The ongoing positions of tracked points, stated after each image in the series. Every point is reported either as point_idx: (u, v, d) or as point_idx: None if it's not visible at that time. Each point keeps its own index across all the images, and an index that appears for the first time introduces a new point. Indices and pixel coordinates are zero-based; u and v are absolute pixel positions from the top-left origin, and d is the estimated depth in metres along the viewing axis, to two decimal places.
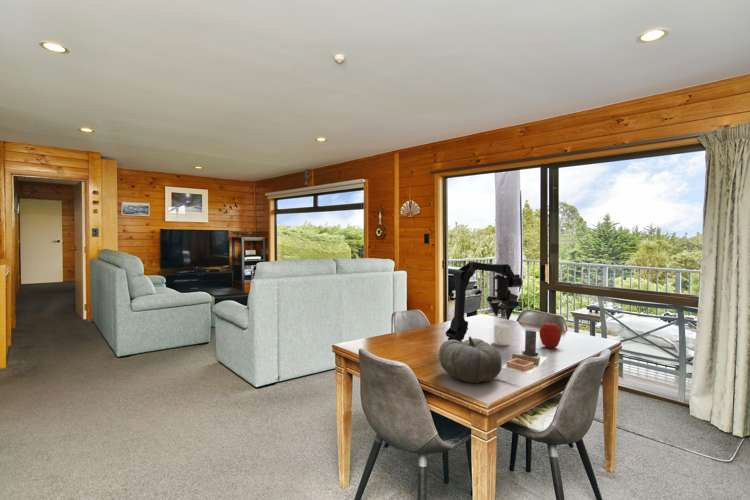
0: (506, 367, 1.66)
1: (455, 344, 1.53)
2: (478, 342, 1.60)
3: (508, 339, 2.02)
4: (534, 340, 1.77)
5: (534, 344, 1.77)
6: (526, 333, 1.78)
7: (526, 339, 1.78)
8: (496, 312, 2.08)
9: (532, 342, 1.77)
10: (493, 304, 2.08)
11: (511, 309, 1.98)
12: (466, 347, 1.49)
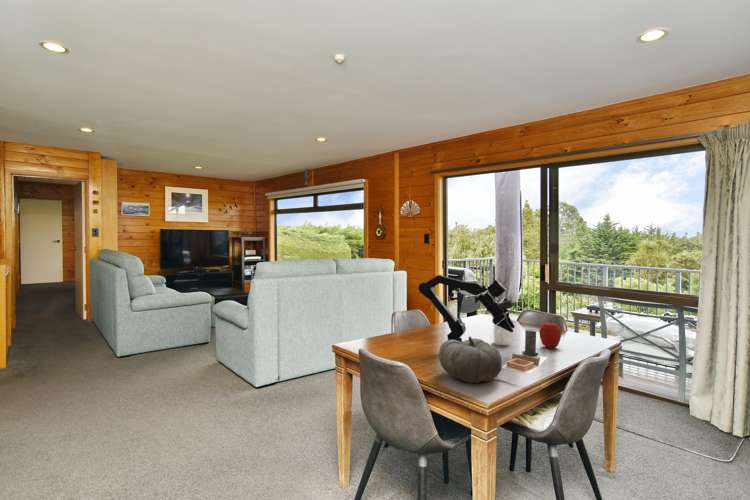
0: (506, 367, 1.66)
1: (455, 344, 1.53)
2: (478, 342, 1.60)
3: (508, 339, 2.02)
4: (534, 340, 1.77)
5: (534, 344, 1.77)
6: (526, 333, 1.78)
7: (526, 339, 1.78)
8: (511, 324, 1.88)
9: (532, 342, 1.77)
10: None
11: (505, 322, 1.78)
12: (466, 347, 1.49)
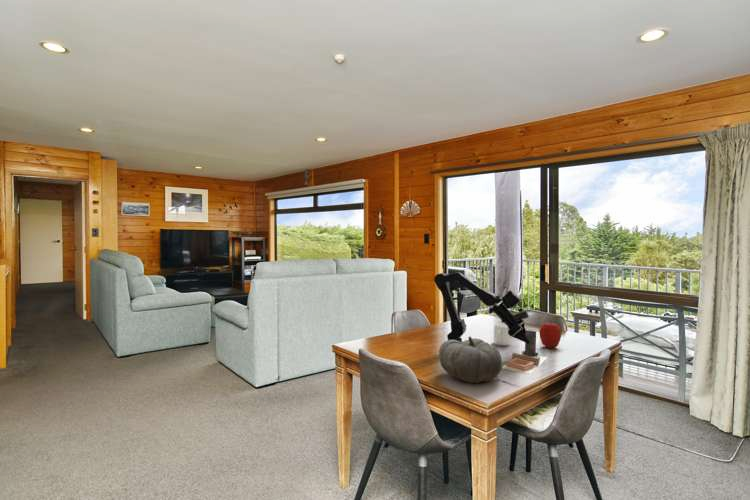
0: (506, 367, 1.66)
1: (455, 344, 1.53)
2: (478, 342, 1.60)
3: (508, 339, 2.02)
4: (534, 340, 1.77)
5: (534, 344, 1.77)
6: (526, 333, 1.78)
7: None
8: None
9: (532, 342, 1.77)
10: None
11: (521, 333, 1.75)
12: (466, 347, 1.49)
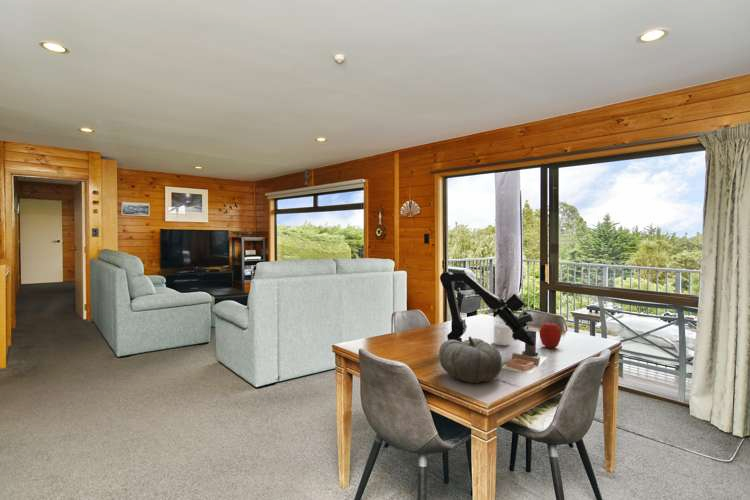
0: (506, 367, 1.66)
1: (455, 344, 1.53)
2: (478, 342, 1.60)
3: (508, 339, 2.02)
4: (534, 340, 1.77)
5: (534, 344, 1.77)
6: None
7: None
8: None
9: None
10: None
11: (526, 336, 1.77)
12: (466, 347, 1.49)
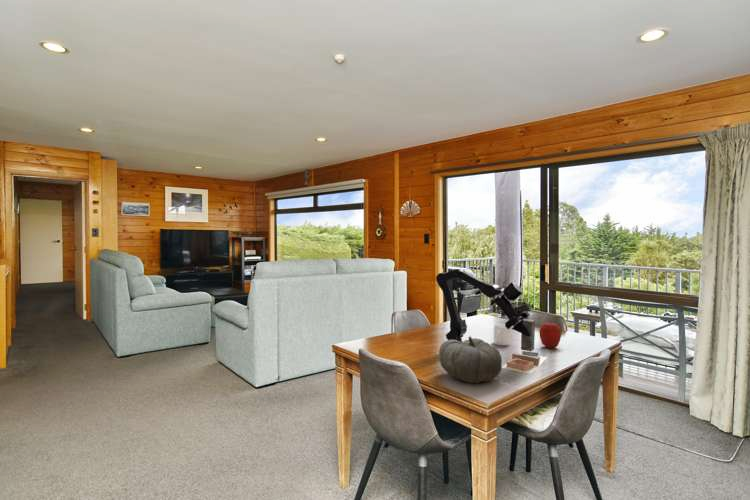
0: (506, 367, 1.66)
1: (455, 344, 1.53)
2: (478, 342, 1.60)
3: (508, 339, 2.02)
4: (530, 330, 1.70)
5: (530, 335, 1.70)
6: None
7: None
8: None
9: (529, 333, 1.70)
10: None
11: (521, 325, 1.71)
12: (466, 347, 1.49)
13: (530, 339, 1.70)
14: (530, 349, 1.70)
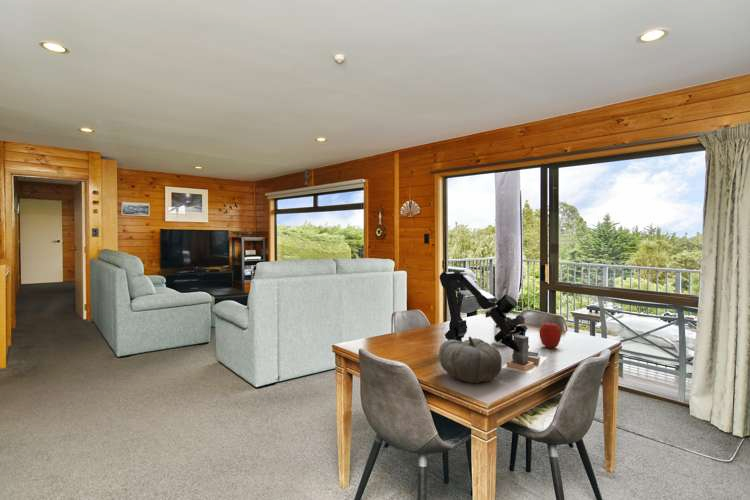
0: (506, 367, 1.66)
1: (455, 344, 1.53)
2: (478, 342, 1.60)
3: None
4: (521, 347, 1.65)
5: (521, 352, 1.65)
6: (514, 339, 1.67)
7: None
8: None
9: (520, 349, 1.65)
10: None
11: (510, 340, 1.65)
12: (466, 347, 1.49)
13: (521, 356, 1.65)
14: None
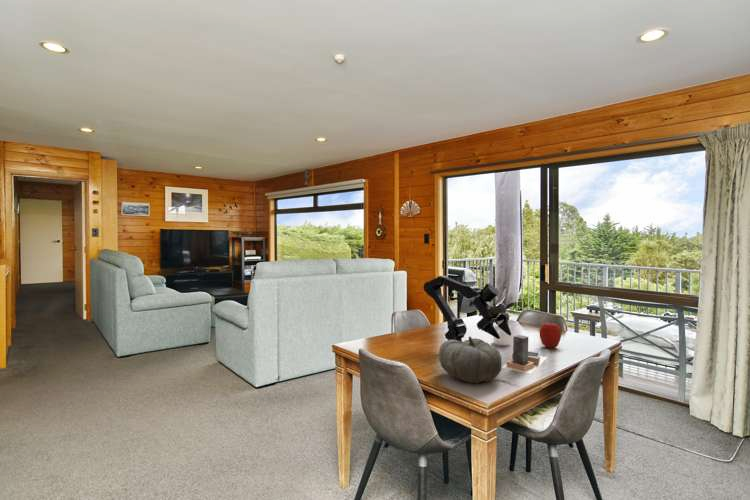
0: (506, 367, 1.66)
1: (455, 344, 1.53)
2: (478, 342, 1.60)
3: (508, 339, 2.02)
4: (521, 347, 1.65)
5: (521, 352, 1.65)
6: (514, 339, 1.67)
7: (514, 345, 1.67)
8: (507, 331, 1.77)
9: (520, 349, 1.65)
10: (500, 325, 1.80)
11: (490, 327, 1.71)
12: (466, 347, 1.49)
13: (521, 356, 1.65)
14: None
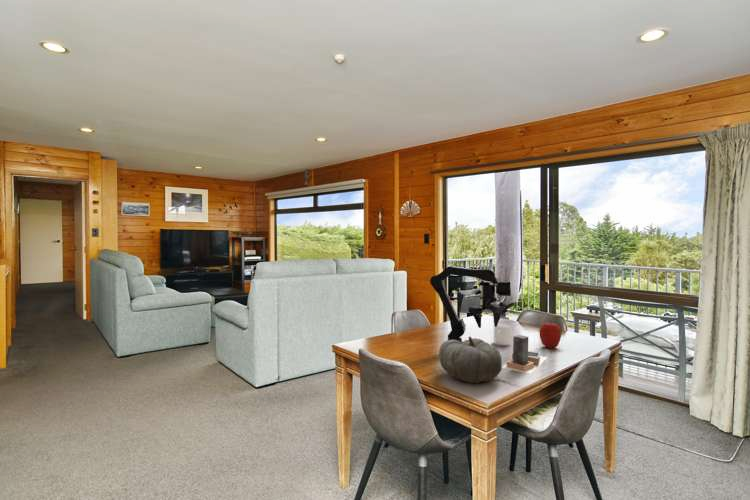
0: (506, 367, 1.66)
1: (455, 344, 1.53)
2: (478, 342, 1.60)
3: (508, 339, 2.02)
4: (521, 347, 1.65)
5: (521, 352, 1.65)
6: (514, 339, 1.67)
7: (514, 345, 1.67)
8: (495, 322, 1.90)
9: (520, 349, 1.65)
10: (494, 313, 1.92)
11: (478, 317, 1.86)
12: (466, 347, 1.49)
13: (521, 356, 1.65)
14: None
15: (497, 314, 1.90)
